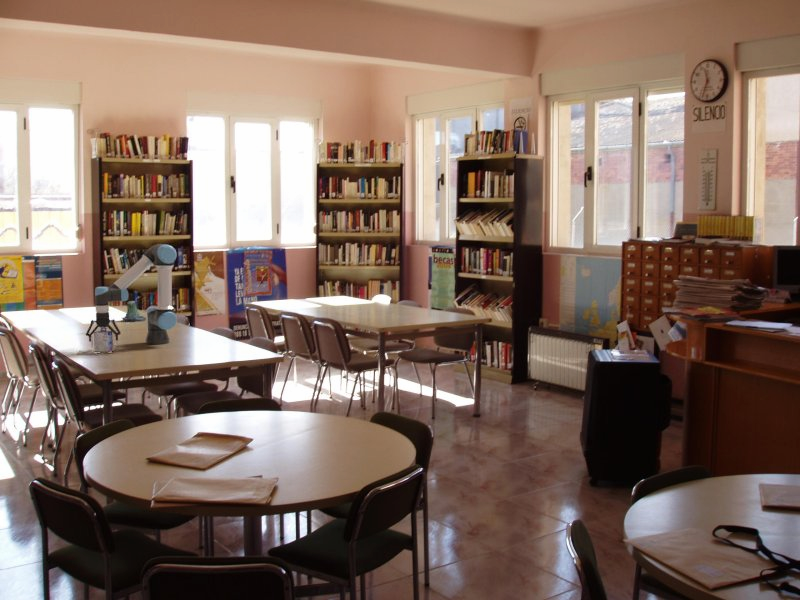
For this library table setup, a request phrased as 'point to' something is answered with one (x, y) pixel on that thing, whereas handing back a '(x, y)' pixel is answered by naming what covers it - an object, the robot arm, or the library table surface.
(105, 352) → the board
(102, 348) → the ink cartridge box
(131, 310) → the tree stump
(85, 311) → the library table surface
